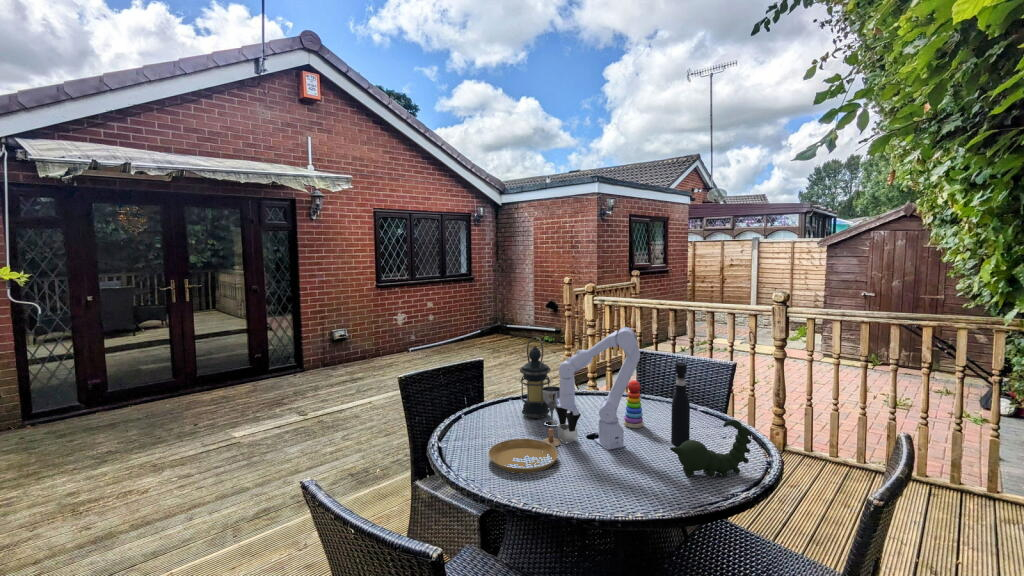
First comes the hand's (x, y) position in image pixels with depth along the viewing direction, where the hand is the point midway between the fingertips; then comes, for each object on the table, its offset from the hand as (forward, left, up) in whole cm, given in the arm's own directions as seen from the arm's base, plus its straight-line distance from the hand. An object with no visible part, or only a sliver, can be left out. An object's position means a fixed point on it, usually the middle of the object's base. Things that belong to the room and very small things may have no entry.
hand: (567, 427), depth 181 cm
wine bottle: (-20, -37, -5) cm, 42 cm away
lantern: (+29, 0, -5) cm, 29 cm away
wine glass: (+17, -2, -5) cm, 18 cm away
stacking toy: (+2, -32, -5) cm, 32 cm away
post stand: (-1, +7, -5) cm, 9 cm away
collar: (0, 0, -5) cm, 5 cm away
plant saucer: (-10, +22, -5) cm, 25 cm away
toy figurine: (-43, -29, -5) cm, 52 cm away
